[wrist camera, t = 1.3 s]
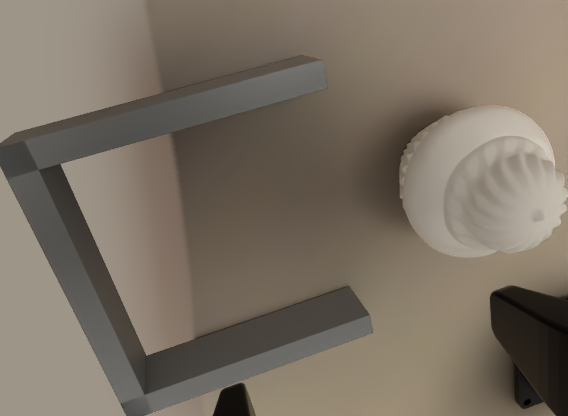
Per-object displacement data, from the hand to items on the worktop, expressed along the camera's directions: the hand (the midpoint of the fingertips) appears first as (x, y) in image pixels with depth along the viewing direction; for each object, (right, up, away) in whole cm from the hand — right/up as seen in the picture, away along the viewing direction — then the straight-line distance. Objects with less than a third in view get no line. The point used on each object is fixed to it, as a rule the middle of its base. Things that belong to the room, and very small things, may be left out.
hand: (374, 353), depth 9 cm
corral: (-4, +2, +11) cm, 12 cm away
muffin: (+5, +5, +13) cm, 15 cm away
